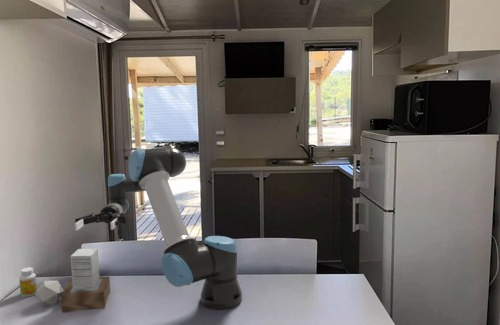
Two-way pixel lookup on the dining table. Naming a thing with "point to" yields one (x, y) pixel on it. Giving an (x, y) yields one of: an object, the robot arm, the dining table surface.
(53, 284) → the die
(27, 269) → the supplement bottle
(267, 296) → the dining table surface
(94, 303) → the walnut plinth
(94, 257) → the supplement box
